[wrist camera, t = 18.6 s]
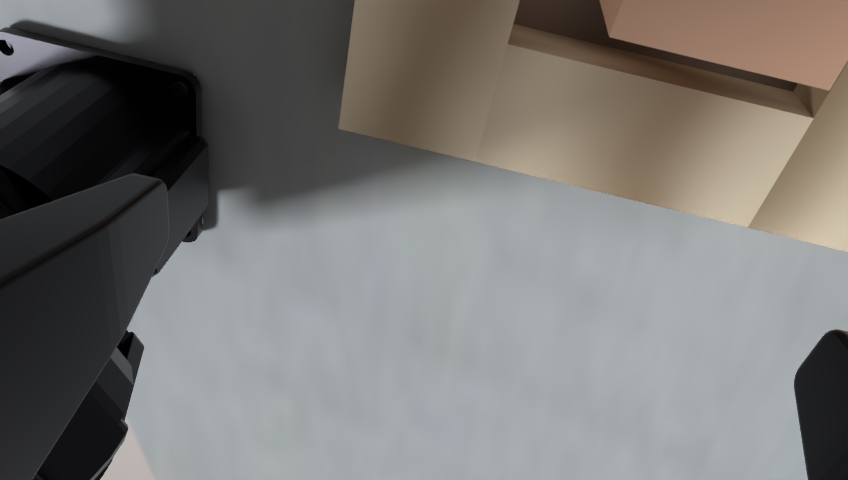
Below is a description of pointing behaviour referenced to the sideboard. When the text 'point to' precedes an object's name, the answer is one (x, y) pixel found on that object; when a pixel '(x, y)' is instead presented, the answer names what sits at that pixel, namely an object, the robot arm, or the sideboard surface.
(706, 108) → the puzzle board
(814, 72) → the block
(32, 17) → the sideboard surface
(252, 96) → the sideboard surface
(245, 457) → the sideboard surface
